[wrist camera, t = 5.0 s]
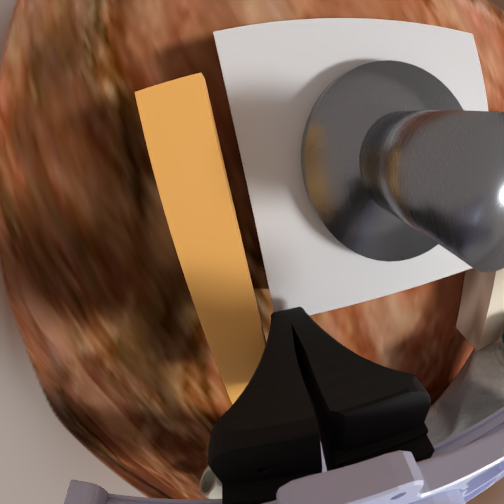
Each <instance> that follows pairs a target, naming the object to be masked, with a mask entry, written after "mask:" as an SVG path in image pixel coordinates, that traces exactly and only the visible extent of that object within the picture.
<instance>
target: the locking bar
mask: <svg viewBox="0 0 504 504" xmlns="http://www.w3.org/2000/svg"><path fill="white" fill-rule="evenodd" d="M135 96H136V101H137V105H138V110H139V114H140V119H141V123H142V128H143V132H144V136H145V140H146V144H147V148H148V152H149V156H150V160H151V164H152V168H153V172H154V176H155V179H156V183H157V187H158V191H159V194H160V198H161V201H162V205H163V208H164V212H165V215H166V219H167V222H168V225H169V229H170V232H171V235H172V239H173V242H174V245H175V248H176V251H177V255H178V258H179V261H180V264H181V267H182V270H183V273H184V276H185V279H186V282H187V285H188V288H189V291H190V294H191V297H192V300H193V303H194V306H195V308H196V311H197V314H198V317H199V320H200V322H201V325H202V328H203V331H204V333H205V336H206V339H207V341H208V344H209V347H210V349H211V352H212V355H213V357H214V360H215V362H216V365H217V367H218V370H219V372H220V375H221V377H222V380H223V382H224V385H225V387H226V390H227V392H228V395H229V397H230V399H231V402H232V404H234V403H235V401H236V400H237V399H238V397H239V396H240V395H241V393H242V392H243V391H244V389H245V388H246V386H247V385H248V383H249V381H250V380H251V378H252V376H253V374H254V372H255V370H256V368H257V366H258V364H259V362H260V360H261V357H262V354H263V352H264V349H265V346H266V340H265V336H264V331H263V327H262V323H261V319H260V315H259V311H258V306H257V302H256V298H255V294H254V289H253V285H252V281H251V277H250V273H249V268H248V264H247V260H246V256H245V251H244V247H243V243H242V238H241V234H240V230H239V226H238V221H237V217H236V213H235V208H234V204H233V200H232V195H231V191H230V187H229V182H228V178H227V174H226V169H225V165H224V161H223V156H222V152H221V147H220V143H219V139H218V134H217V130H216V125H215V121H214V117H213V112H212V108H211V103H210V99H209V94H208V90H207V85H206V81H205V78H204V76H203V75H202V73H197V74H193V75H189V76H185V77H182V78H178V79H175V80H171V81H168V82H164V83H161V84H158V85H155V86H152V87H148V88H145V89H142V90H140V91H137V92H135Z"/></svg>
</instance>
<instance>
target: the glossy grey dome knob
mask: <svg viewBox="0 0 504 504" xmlns="http://www.w3.org/2000/svg"><path fill="white" fill-rule="evenodd" d="M301 167H302V177H303V181H304V185H305V189H306V192H307V195H308V198H309V200H310V203H311V205H312V207H313V209H314V211H315V213H316V215H317V216H318V218H319V219H320V220H321V222H322V223H323V225H324V226H325V227H326V228H327V229H328V230H329V231H330V232H331V234H332V235H333V236H334V237H335V238H336V239H337V240H338V241H339V242H341V243H342V244H343V245H344V246H345V247H347V248H348V249H350V250H352V251H353V252H355V253H357V254H359V255H361V256H364V257H366V258H369V259H373V260H377V261H387V262H391V261H402V260H407V259H411V258H414V257H417V256H420V255H422V254H424V253H426V252H428V251H429V250H431V249H432V248H434V247H435V246H437V245H438V244H439V245H441V246H442V247H444V248H445V249H447V250H448V251H449V252H451V253H452V254H454V255H455V256H457V257H458V258H459V259H461V260H462V261H464V262H465V263H466V264H468V265H469V266H471V267H472V268H474V269H475V270H477V271H480V272H487V273H489V272H495V271H498V270H500V269H502V268H504V113H503V112H489V111H467V110H463V108H462V107H461V105H460V103H459V102H458V100H457V99H456V97H455V96H454V95H453V93H452V92H451V91H450V90H449V89H448V88H447V87H446V86H445V85H444V84H443V83H442V82H441V81H440V80H439V79H437V78H436V77H435V76H434V75H432V74H431V73H429V72H427V71H426V70H424V69H422V68H420V67H417V66H415V65H412V64H409V63H405V62H401V61H392V60H384V61H375V62H370V63H366V64H363V65H361V66H358V67H356V68H354V69H351V70H349V71H347V72H346V73H344V74H343V75H341V76H339V77H338V78H337V79H335V80H334V81H333V82H332V83H331V84H330V85H329V86H328V87H327V88H326V89H325V90H324V91H323V93H322V94H321V95H320V96H319V98H318V99H317V101H316V103H315V104H314V106H313V108H312V110H311V112H310V115H309V117H308V119H307V122H306V126H305V129H304V133H303V139H302V146H301Z"/></svg>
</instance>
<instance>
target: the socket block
mask: <svg viewBox="0 0 504 504" xmlns="http://www.w3.org/2000/svg"><path fill="white" fill-rule="evenodd" d="M213 34H214V38H215V43H216V48H217V53H218V57H219V61H220V66H221V70H222V75H223V79H224V84H225V88H226V92H227V97H228V101H229V106H230V110H231V115H232V119H233V124H234V128H235V133H236V137H237V142H238V146H239V151H240V156H241V160H242V165H243V169H244V174H245V178H246V183H247V188H248V192H249V197H250V202H251V206H252V211H253V215H254V220H255V225H256V230H257V234H258V239H259V244H260V248H261V253H262V258H263V263H264V267H265V272H266V277H267V282H268V286H269V291H270V296H271V300H272V305H273V309H274V312H277V311H282V310H286V309H291V308H295V307H302V308H303V309H304V310H305V312H306V313H307V314H308V315H313V314H317V313H321V312H325V311H329V310H333V309H337V308H341V307H345V306H349V305H353V304H357V303H360V302H364V301H368V300H372V299H375V298H379V297H382V296H386V295H389V294H393V293H396V292H400V291H403V290H406V289H410V288H413V287H416V286H419V285H423V284H426V283H429V282H432V281H435V280H438V279H441V278H444V277H447V276H450V275H453V274H456V273H459V272H462V271H465V270H468V269H471V268H472V267H471V266H469V265H468V264H466V263H465V262H464V261H462V260H461V259H459V258H458V257H457V256H455V255H454V254H452V253H451V252H449V251H448V250H447V249H445V248H444V247H442V246H441V245H439V244H438V245H437V246H435V247H434V248H432V249H431V250H429V251H428V252H426V253H424V254H422V255H420V256H417V257H414V258H411V259H407V260H402V261H391V262H387V261H377V260H373V259H369V258H366V257H364V256H361V255H359V254H357V253H355V252H353V251H352V250H350V249H348V248H347V247H345V246H344V245H343V244H342V243H341V242H339V241H338V240H337V239H336V238H335V237H334V236H333V235H332V234H331V232H330V231H329V230H328V229H327V228H326V227H325V226H324V225H323V223H322V222H321V220H320V219H319V218H318V216H317V215H316V213H315V211H314V209H313V207H312V205H311V203H310V200H309V198H308V195H307V192H306V189H305V185H304V181H303V177H302V167H301V146H302V139H303V133H304V129H305V126H306V122H307V119H308V117H309V115H310V112H311V110H312V108H313V106H314V104H315V103H316V101H317V99H318V98H319V96H320V95H321V94H322V93H323V91H324V90H325V89H326V88H327V87H328V86H329V85H330V84H331V83H332V82H333V81H334V80H335V79H337V78H338V77H339V76H341V75H343V74H344V73H346V72H347V71H349V70H351V69H354V68H356V67H358V66H361V65H363V64H366V63H370V62H375V61H384V60H392V61H401V62H405V63H409V64H412V65H415V66H417V67H420V68H422V69H424V70H426V71H427V72H429V73H431V74H432V75H434V76H435V77H436V78H437V79H439V80H440V81H441V82H442V83H443V84H444V85H445V86H446V87H447V88H448V89H449V90H450V91H451V92H452V93H453V95H454V96H455V97H456V99H457V100H458V102H459V103H460V105H461V107H462V108H463V110H467V111H488V105H487V98H486V92H485V86H484V81H483V75H482V71H481V66H480V61H479V57H478V53H477V49H476V45H475V41H474V38H473V34H471V33H467V32H462V31H458V30H453V29H448V28H443V27H438V26H432V25H426V24H419V23H412V22H403V21H393V20H381V19H362V18H320V19H301V20H288V21H278V22H269V23H261V24H254V25H247V26H241V27H235V28H230V29H225V30H220V31H215V32H213Z"/></svg>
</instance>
